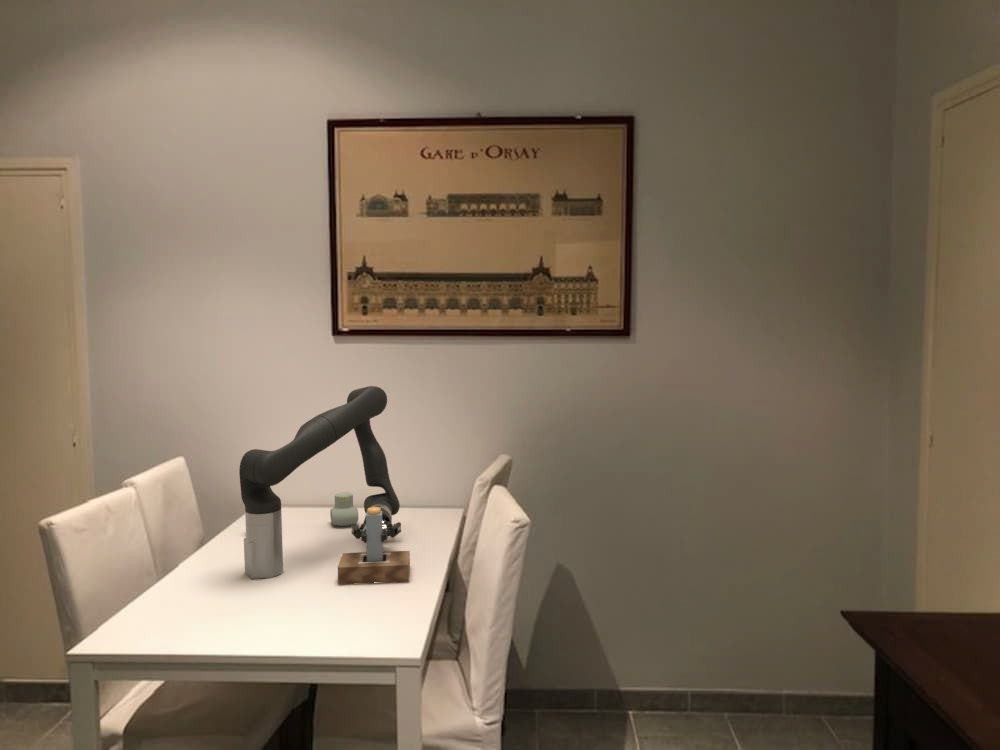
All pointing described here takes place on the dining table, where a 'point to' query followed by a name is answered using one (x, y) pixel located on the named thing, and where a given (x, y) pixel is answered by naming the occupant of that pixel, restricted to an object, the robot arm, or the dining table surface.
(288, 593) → the dining table surface
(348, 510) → the air freshener
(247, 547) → the robot arm
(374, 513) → the peg
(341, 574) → the socket block
